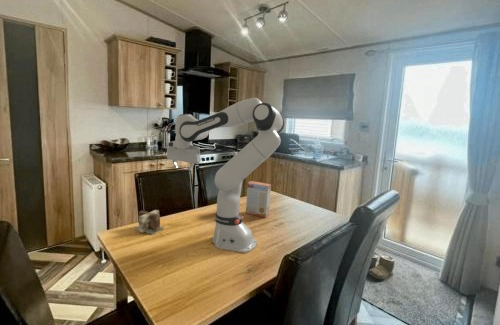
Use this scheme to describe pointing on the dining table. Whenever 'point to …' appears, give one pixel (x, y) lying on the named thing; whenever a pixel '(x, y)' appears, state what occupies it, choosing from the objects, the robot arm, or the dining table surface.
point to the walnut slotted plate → (152, 223)
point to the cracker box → (258, 199)
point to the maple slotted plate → (145, 221)
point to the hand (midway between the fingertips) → (183, 169)
